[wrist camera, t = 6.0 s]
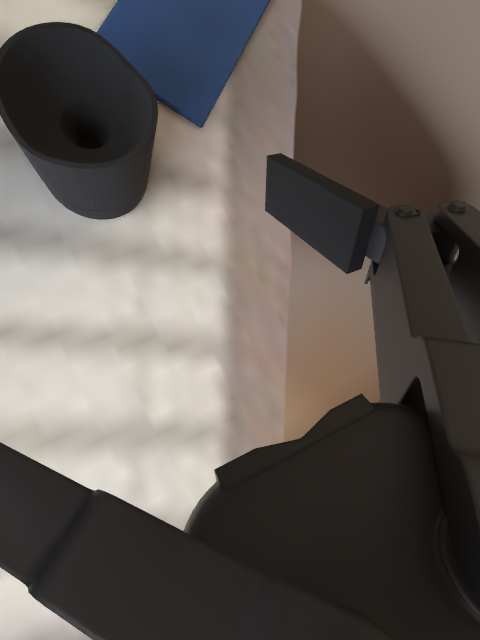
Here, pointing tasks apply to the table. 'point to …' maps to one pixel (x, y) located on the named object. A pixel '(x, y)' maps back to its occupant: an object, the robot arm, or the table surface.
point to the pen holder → (79, 116)
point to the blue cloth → (183, 46)
